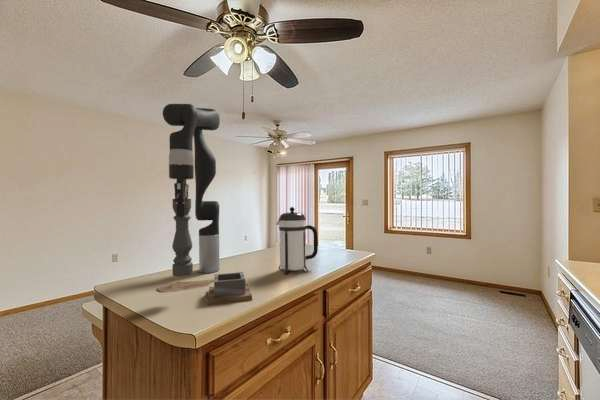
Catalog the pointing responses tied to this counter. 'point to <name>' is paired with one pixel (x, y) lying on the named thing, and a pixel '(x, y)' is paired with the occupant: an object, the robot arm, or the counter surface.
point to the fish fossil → (183, 285)
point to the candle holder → (182, 243)
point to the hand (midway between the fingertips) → (182, 215)
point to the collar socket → (229, 289)
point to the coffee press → (294, 241)
